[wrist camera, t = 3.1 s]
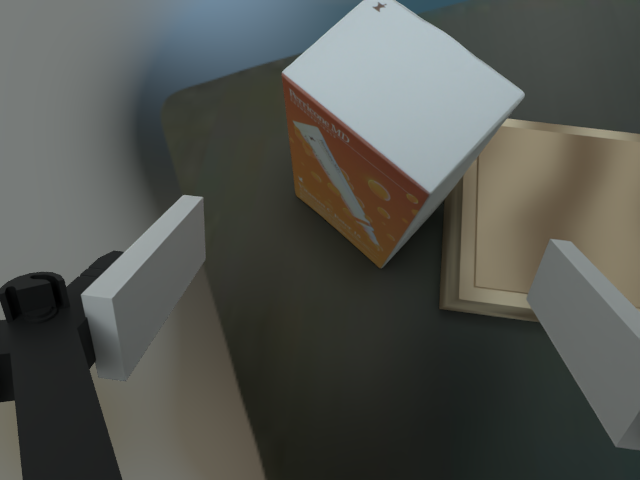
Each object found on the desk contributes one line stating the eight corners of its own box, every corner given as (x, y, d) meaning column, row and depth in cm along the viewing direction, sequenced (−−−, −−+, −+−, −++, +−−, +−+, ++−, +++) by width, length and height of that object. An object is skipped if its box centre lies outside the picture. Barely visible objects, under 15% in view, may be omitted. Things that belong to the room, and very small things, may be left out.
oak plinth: (613, 165, 30) (660, 133, 26) (627, 333, 27) (683, 327, 22) (447, 145, 30) (467, 110, 26) (438, 308, 27) (460, 298, 23)
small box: (293, 196, 29) (275, 69, 17) (353, 138, 31) (377, -19, 18) (381, 273, 28) (432, 196, 15) (440, 208, 29) (531, 88, 17)
